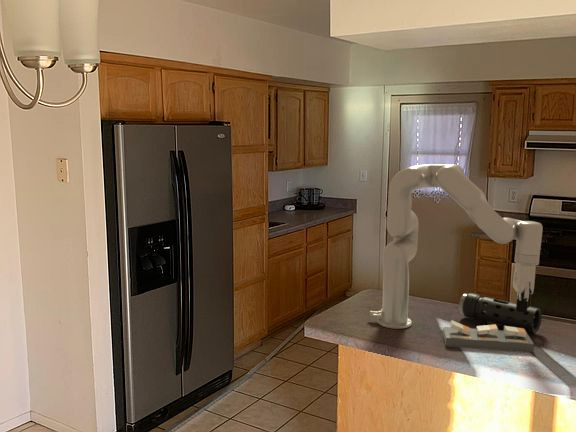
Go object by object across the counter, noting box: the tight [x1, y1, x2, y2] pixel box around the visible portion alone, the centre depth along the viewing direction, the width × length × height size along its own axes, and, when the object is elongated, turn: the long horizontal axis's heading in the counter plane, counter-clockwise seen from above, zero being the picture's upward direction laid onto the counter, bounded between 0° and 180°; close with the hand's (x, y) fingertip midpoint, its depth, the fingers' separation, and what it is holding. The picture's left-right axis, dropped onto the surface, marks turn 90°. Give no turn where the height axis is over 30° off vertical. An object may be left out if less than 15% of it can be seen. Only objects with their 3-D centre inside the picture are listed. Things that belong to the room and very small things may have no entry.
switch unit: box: [442, 326, 535, 354], centre depth 196 cm, size 28×11×4 cm, turn 80°
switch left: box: [449, 319, 471, 335], centre depth 198 cm, size 6×5×2 cm
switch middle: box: [476, 324, 499, 334], centre depth 196 cm, size 6×5×2 cm
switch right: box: [503, 326, 527, 337], centre depth 194 cm, size 6×5×2 cm
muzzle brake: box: [458, 292, 543, 336], centre depth 213 cm, size 10×28×10 cm, turn 47°
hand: (521, 311), depth 193 cm, fingers closed
